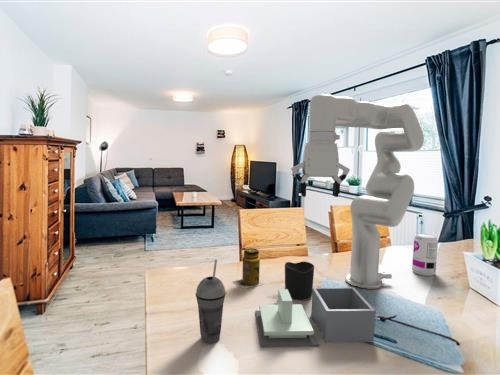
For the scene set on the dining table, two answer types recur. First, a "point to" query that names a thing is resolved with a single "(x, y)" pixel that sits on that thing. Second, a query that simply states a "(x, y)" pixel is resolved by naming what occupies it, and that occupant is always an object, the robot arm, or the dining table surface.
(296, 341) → the dark grey flat plate
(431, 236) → the supplement can
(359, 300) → the tub
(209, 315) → the beverage cup
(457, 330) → the dining table surface
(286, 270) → the pen holder
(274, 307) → the green slab
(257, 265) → the condiment
